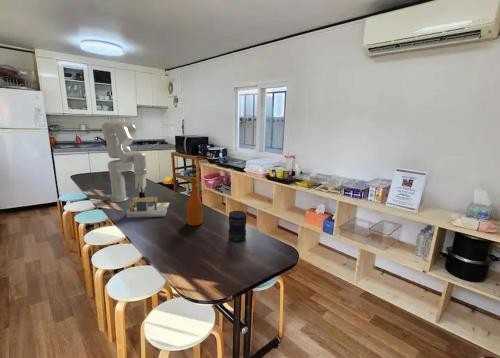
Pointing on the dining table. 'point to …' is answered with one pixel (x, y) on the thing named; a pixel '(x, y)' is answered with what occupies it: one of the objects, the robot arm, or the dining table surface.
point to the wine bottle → (194, 206)
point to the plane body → (146, 211)
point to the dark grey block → (142, 206)
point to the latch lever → (145, 199)
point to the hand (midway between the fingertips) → (142, 198)
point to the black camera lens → (237, 226)
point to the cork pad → (162, 204)
